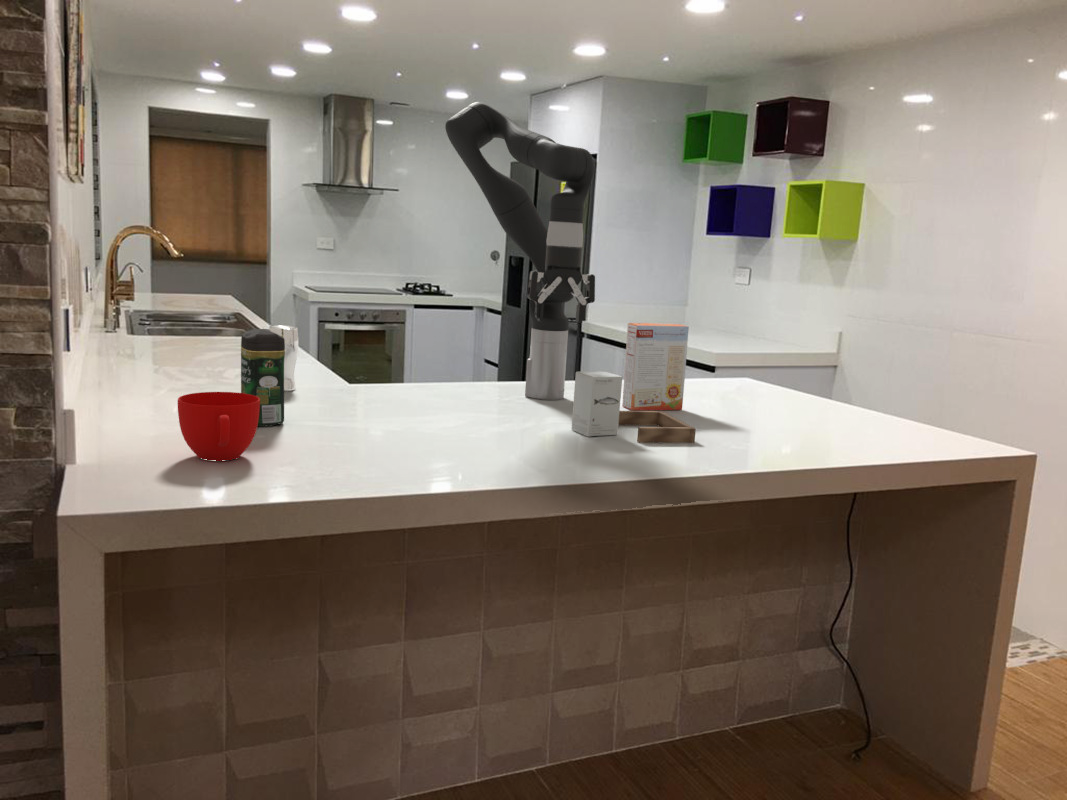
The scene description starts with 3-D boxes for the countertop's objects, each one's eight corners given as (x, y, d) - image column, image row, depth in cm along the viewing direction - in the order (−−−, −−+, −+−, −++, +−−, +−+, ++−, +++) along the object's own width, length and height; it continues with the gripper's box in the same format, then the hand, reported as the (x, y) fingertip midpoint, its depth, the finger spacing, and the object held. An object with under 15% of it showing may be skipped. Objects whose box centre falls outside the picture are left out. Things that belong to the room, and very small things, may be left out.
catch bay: (639, 442, 185) (640, 428, 185) (609, 423, 202) (610, 410, 202) (694, 442, 188) (695, 428, 188) (660, 424, 205) (661, 411, 205)
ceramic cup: (181, 474, 141) (180, 411, 140) (175, 449, 157) (175, 391, 155) (267, 471, 147) (268, 410, 145) (254, 446, 162) (255, 391, 160)
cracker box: (671, 406, 230) (678, 323, 226) (682, 411, 224) (690, 326, 220) (620, 406, 225) (627, 321, 221) (630, 411, 219) (637, 324, 216)
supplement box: (588, 437, 187) (592, 376, 185) (570, 429, 194) (574, 370, 191) (618, 435, 190) (623, 376, 188) (600, 428, 197) (604, 370, 195)
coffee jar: (236, 418, 184) (237, 326, 181) (276, 416, 188) (277, 326, 185) (246, 428, 176) (247, 332, 172) (288, 426, 179) (289, 332, 176)
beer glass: (293, 392, 216) (294, 329, 213) (263, 390, 216) (264, 327, 213) (300, 387, 222) (301, 326, 220) (272, 386, 222) (273, 324, 220)
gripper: (535, 243, 186) (531, 322, 189) (602, 247, 190) (596, 324, 192) (527, 242, 193) (522, 318, 196) (591, 246, 197) (586, 321, 200)
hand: (559, 321), depth 194 cm, fingers open, 8 cm apart
